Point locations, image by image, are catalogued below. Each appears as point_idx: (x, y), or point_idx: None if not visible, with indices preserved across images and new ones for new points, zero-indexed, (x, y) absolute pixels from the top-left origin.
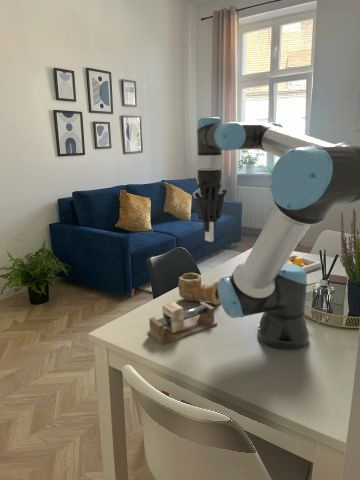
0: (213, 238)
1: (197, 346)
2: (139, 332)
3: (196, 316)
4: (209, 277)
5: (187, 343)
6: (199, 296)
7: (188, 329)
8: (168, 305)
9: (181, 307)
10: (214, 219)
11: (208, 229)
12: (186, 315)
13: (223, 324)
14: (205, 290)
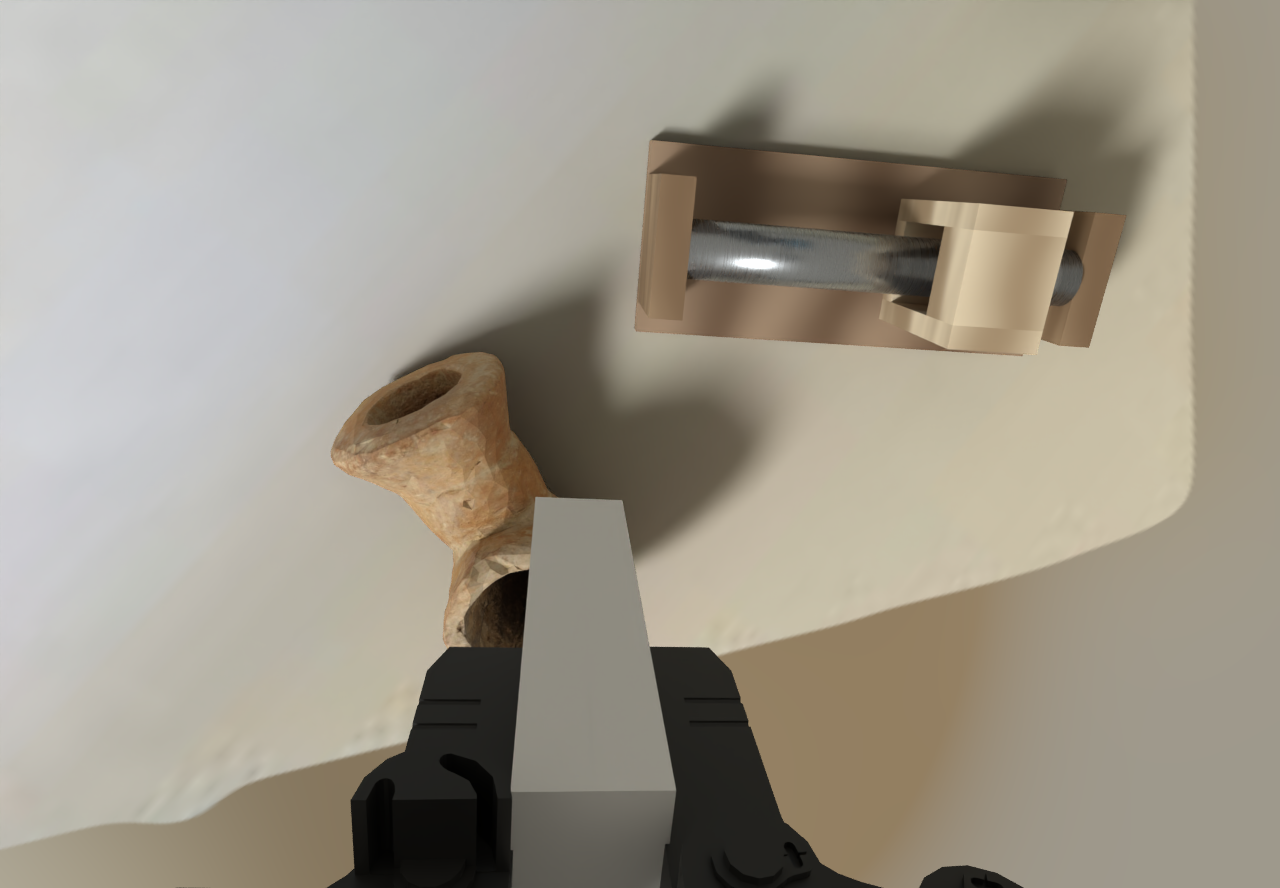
0: (536, 521)
1: (934, 15)
2: (1038, 386)
3: (692, 307)
4: (175, 749)
5: (949, 90)
6: (537, 468)
7: (851, 202)
8: (1014, 319)
9: (978, 223)
10: (456, 875)
11: (659, 682)
12: (875, 236)
13: (608, 116)
14: (501, 455)
